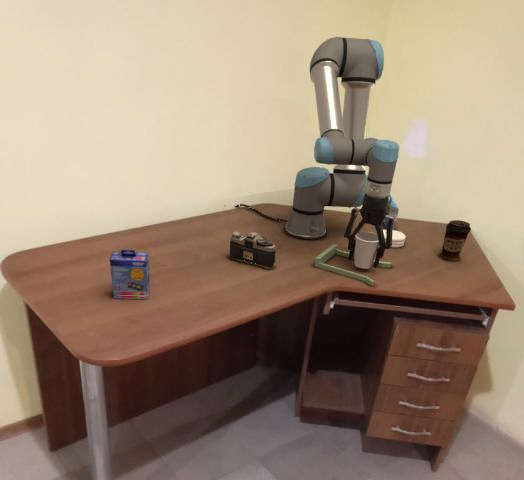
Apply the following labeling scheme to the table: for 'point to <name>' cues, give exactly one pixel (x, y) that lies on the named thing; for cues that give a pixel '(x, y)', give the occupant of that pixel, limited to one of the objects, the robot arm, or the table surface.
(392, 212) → the label tape box
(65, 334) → the table surface
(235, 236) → the camera
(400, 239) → the coaster
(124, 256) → the ink cartridge box
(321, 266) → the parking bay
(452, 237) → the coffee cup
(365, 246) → the dixie cup
